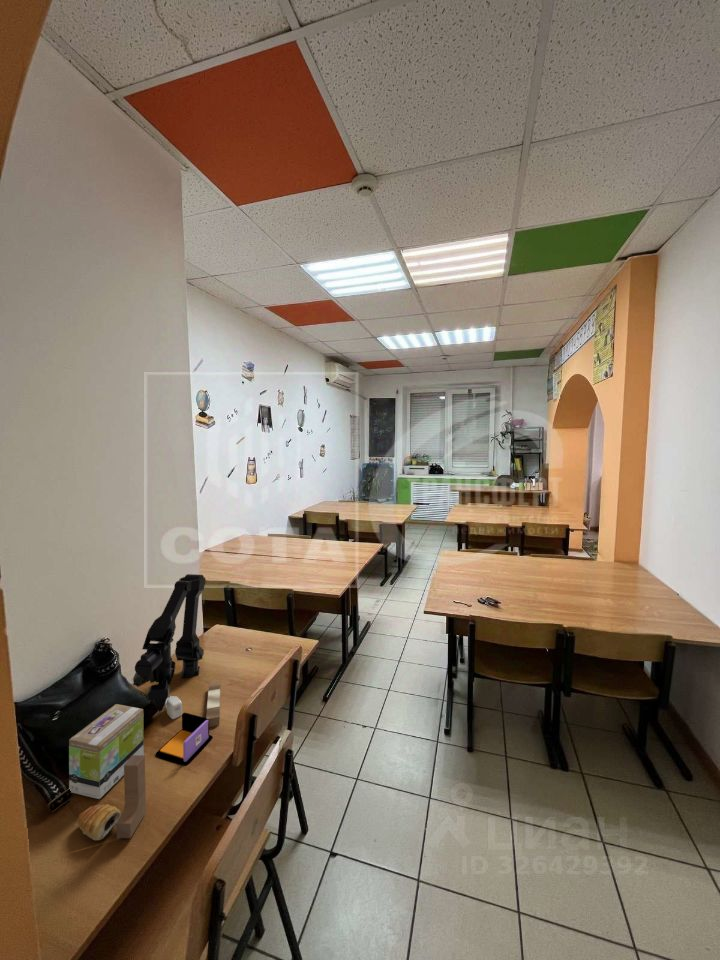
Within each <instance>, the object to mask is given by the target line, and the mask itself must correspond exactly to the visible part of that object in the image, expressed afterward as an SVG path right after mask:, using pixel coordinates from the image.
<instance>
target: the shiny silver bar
mask: <svg viewBox="0 0 720 960" xmlns="http://www.w3.org/2000/svg"><path fill="white" fill-rule="evenodd" d="M207 689H208V690H207V700H206V701H207V703H206V715H205V718H207V719H208V720H209V728H212V727H215V726H220V721H221V720H220V719H221V718H220V717H221V716H220V713H221V712H220V711H221V681H215V682H210V683H208V688H207Z"/></svg>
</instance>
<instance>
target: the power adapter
mask: <svg viewBox="0 0 720 960" xmlns="http://www.w3.org/2000/svg"><path fill="white" fill-rule="evenodd" d="M164 707H165V708H166V714H167V715H168V716H169V718H170V719H172V720H175V719H177V718H179V717H182V714H183V703H182V701H181V699H180V698H179V697H178V696H177V695H175V696H171V694H169V695H168V697H167V700H166V702H165V705H164Z"/></svg>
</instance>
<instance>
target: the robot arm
mask: <svg viewBox="0 0 720 960" xmlns="http://www.w3.org/2000/svg"><path fill="white" fill-rule="evenodd" d="M206 583H207V580H206V577H204V575H203V574H195V573H194V574H191V573H189V574H185V576H183V577H180V578H179V579H178V580H177V581H175V583H174V586H173V587H174V588H173V590H172V592H171V594H170V597H169V599H168V601H167V602H166V604H165V607H164V609H163V611H162V613H161V614H160V616H158V617H157V618H155V619H154V620H153V622H152V624H151V626H150V627H149V629H148V630H147V634H146V635H145V641H144V642H143V646H142V648H141V649H142V650H146V652H144V653H142V654H141V655H140V658H139V659H138V660H137V661H136V663H135V666H134V671H135V674H134V675H133V678H132V680H133V686H135V687H137V688H139V687H141V686H143V685H145V684H146V683H150V684H152V685H150V687H148V690H147V692H146V700H147V701H153V702H154V703H155V706H156V705H157V706H158V709H157V712H160V713H161V712H162V711H163V710H164V707H165V706H164V705H165V702H166V700H167V699H168V698H169V697H168V696H169V695H170V686H171V684H172V683H171V682H172V680H173V677H174V674H175V671H176V661H173V657H172V647H171V646H172V645H171V644H172V642H174V635H175V631H176V627H177V626H176V619H177V616H178V614H179V612H180V610H181V608H182V605H183V604H184V612H183V614H184V615H183V623H182V624H183V625H182V635H181V637H180V638H179V640H177V641H176V643H175V650H174V654H175V658H176V660H177V661H179V662H180V661H182V670H181V675H180V679H186V678H193V677H198V676H200V668H201V666H200V665H199V661H201V660H203V656H204V651H205V650H204V649H203V648H202V647H201V645H200V639H199V637H198V635H197V623H198V613H199V612H198V611H199V600H200V596H201V594H202V593H203V591H204V590H205V585H206ZM184 601H185V602H184ZM152 642H154V643H152ZM155 642H156V643H155ZM153 683H157V684H153Z"/></svg>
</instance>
